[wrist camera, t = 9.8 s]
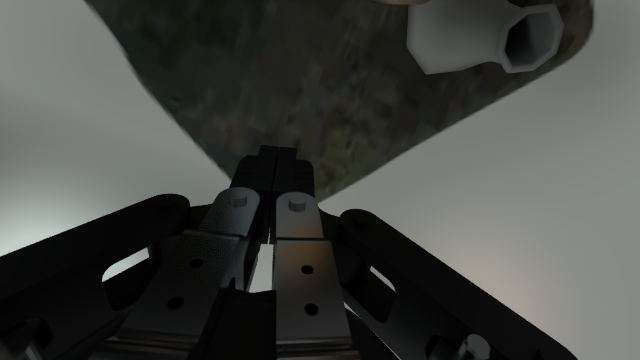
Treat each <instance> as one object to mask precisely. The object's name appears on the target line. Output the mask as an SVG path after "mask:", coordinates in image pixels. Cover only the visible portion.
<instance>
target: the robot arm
mask: <svg viewBox="0 0 640 360" xmlns="http://www.w3.org/2000/svg"><path fill="white" fill-rule="evenodd" d="M278 152H279V155H278ZM296 154H297V148H288V147H280V149H279V147H277V146H267V145H261V148H260V151H259V154H258V156H253V155H247V156H246V157H244V158H243V159H241V160H240V162H239V165H238V168H237V170H236V173H235V175H234V177H233V179H232V182H231V184H230V187H229V189H226V190H224V191H222V192H220V193H219V194H218V196H217V197H216V199H215V200H214V202H213V203H212V204H208V205H201V206H193V207H190V202H189V200H188V199H187V198H186V197H184V196H182V195H178V194H161V195H157V196H154V197H151V198H148V199H146V200H143V201H141V202H138V203H136V204H133V205H131V206H128V207H125V208H123V209H120V210H118V211H116V212H113V213H110V214H108V215H105V216H102V217H100V218H97V219H95V220H92V221H90V222H87V223H85V224H82V225H80V226H77V227H75V228H72V229H69V230H67V231H64V232H62V233H59V234H57V235H54V236H52V237H49V238H46V239H44V240H42V241H39V242H36V243H34V244H31V245H29V246H26V247H23V248H21V249H19V250H16V251H13V252H11V253H8V254H6V255H3V256H1V257H0V360H399V359H398V358H397V357H396V355H398V357H399V358H400V359H401V360H578V359H577V358H576V357H575V356H574V355H573V354H572V353H571V352H570V351H569V350H568V349H567V348H565V347H564V346H562V345H561V344H560V343H559V342H557V341H556V340H554V339H553V338H551V337H550V336H548V335H547V334H546V333H544V332H543V331H541V330H540V329H538V328H537V327H536V326H534V325H533V324H531V323H530V322H528V321H527V320H526V319H524V318H522V317H521V316H520V315H518V314H517V313H515V312H514V311H513V310H511V309H510V308H508V307H507V306H505V305H504V304H502V303H501V302H499V301H498V300H497V299H495V298H494V297H492V296H491V295H489V294H488V293H486V292H485V291H484V290H482V289H481V288H479V287H478V286H476V285H475V284H474V283H472V282H471V281H469V280H468V279H466V278H465V277H463V276H462V275H461V274H459V273H458V272H456V271H455V270H453V269H452V268H451V267H449V266H448V265H446V264H445V263H443V262H442V261H441V260H439V259H438V258H436V257H435V256H433V255H432V254H430V253H429V252H427V251H426V250H425V249H423V248H422V247H420V246H419V245H417V244H416V243H415V242H413V241H412V240H410V239H409V238H407V237H406V236H405V235H403V234H402V233H400V232H399V231H397V230H396V229H394V228H393V227H392V226H390V225H389V224H387V223H386V222H384V221H383V220H381V219H380V218H379V217H377V216H376V215H374V214H373V213H371V212H368V211H366V210H362V209H349V210H346V211H344V212H343V213H342V214H341V215H340V217H337V216H334V215H330V214H328V213H326V212H324V211H322V210H321V209H320V208H319V207H318V204H317V201H316V200H315V194H314V175H313V174H314V173H313V166H312V165H311V164H310V162H309V161H307V160H296ZM269 231H270V242H269V244H274V247H273V262H272V263H273V264H272V290H269V291H262V292H256V293H250V292H249V289H250V285H251V282H252V278H253V275H254V271H255V268H256V265H257V261H258V253H259V251H260V246H261V244H268V237H269ZM146 247H147V249H148V254H149V258H147V259H145V260H143V261H141V262H139V263H138V264H136V265H134V266H132V267H130V268H128V269H126V270H125V271H123V272H121V273H119V274H117V275H115V276H113V277H112V278H110V279H108V280H106V281H104V282H102V277H103V274H104V273H105V271H106V270H107V269H108V268H109V267H110V266H111V265H113V264H115V263H117V262H119V261H120V260H123V259H124V258H127V257H129V256H131V255H132V254H134V253H136V252H138V251H140V250H142V249H144V248H146ZM371 266H372V267H374V268H375V269H376V270H377V271H378V272H380V273H381V274H382V275H383V276H384V277H386V278H387V279H388V280H389V281H390V282H391V283H392V285H393V286H394V288H395V291H396V292H395V291H394V290H392V289H391V288H390V287H389V286H388V285H387V284H385V283H384V282H383V281H382V280H381V279H380V278H378V277H377V276H376V275H375V274H374V273H373V272H371V271H370V268H371ZM344 302H345V303H346V304H347V305H348V306H349V307H350V308H351V309H352V310H353V311H354V312H355V313H356V314H357V315H358V316H359V317H360V318H361V319H360V318H359V317H358V316H357V315H356V314H354V313H353V312H351V311H350V310H348V309H347V308H345V306H344ZM370 328H371V329H372V330H373V331H374V332H375V333H376V334H377V335H378V336H379V337H380V338H381V339H380V338H379V337H378V336H377V335H376V334H375V333H374V332H373V331H372V330H371V329H370ZM382 340H383V341H382ZM383 342H384V343H385V344H386V345H387V346H388V347H389V348H390V349H391V350H392V351H393V352H395V354H396V355H394V353H393V352H392V351H391V350H390V349H389V348H388V347H387V346H386V345H385V344H384V343H383Z"/></svg>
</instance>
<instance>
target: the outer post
mask: <svg viewBox="0 0 640 360" xmlns="http://www.w3.org/2000/svg"><path fill="white" fill-rule="evenodd" d="M371 1H373V2H375V3H381V4H411V5H421V4H425V3H427V2H429V1H431V0H371Z"/></svg>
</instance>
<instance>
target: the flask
mask: <svg viewBox="0 0 640 360" xmlns="http://www.w3.org/2000/svg"><path fill="white" fill-rule="evenodd" d="M563 29H564V24H563V21H562V19H561V16H560V14H559V12H558V9H557V7H556V5H555V4H545V5H536V6H526V7H523V8H520V7H518V6H516V5H513V4H511V3H509V2H508V1H507V0H431V1H429V2H427V3H425V4H421V5H411V4H410V5H409V8H408V29H407V48H408V50H409V51H410V53H411V54H412V55H413V57H414V58H415V60H416V61H417V63H418V64H419V65H420V67H421V68H422V70H423V71H424V73H425V74H434V73H443V72H453V71H461V70H464V69H467V68H469V67H472V66H474V65H477V64H480V63H484V62H487V61H494V62H497V63H501V64H502V66H503V68H504V70H505V71H506V72H507V73H514V72H524V71H533V70H535V69H536V68H537V67H539V66H540V65H541V64H543V63H544V62H545V61H547V60H548V59H550V58H551V57H552V56H554V55H555V54H556V53H557V50H558V47H559V43H560V40H561V36H562V33H563Z"/></svg>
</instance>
